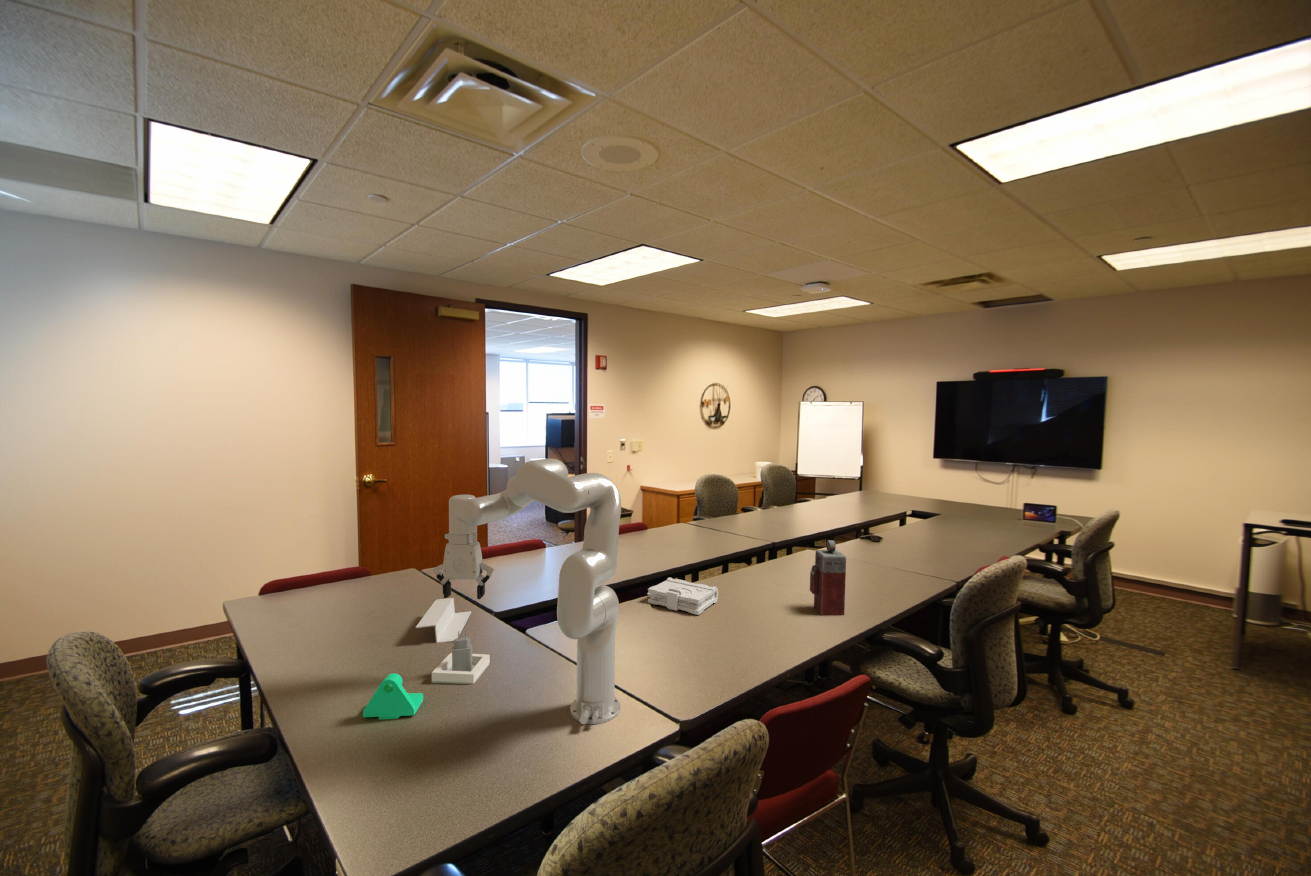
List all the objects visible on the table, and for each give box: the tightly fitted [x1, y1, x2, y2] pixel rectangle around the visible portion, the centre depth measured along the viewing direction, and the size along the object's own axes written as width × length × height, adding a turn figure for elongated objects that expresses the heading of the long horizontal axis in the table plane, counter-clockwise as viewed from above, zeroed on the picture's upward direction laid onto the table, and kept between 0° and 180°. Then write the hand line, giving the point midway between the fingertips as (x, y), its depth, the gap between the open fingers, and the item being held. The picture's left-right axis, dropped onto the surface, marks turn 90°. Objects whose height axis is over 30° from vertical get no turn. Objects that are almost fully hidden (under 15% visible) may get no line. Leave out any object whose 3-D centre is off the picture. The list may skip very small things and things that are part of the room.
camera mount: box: [362, 672, 424, 720], centre depth 135 cm, size 12×8×10 cm, turn 95°
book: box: [646, 577, 719, 616], centre depth 215 cm, size 19×28×8 cm
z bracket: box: [415, 597, 472, 644], centre depth 186 cm, size 12×25×6 cm, turn 8°
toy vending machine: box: [809, 539, 847, 617], centre depth 205 cm, size 9×11×28 cm
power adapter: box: [451, 630, 473, 672], centre depth 154 cm, size 3×5×12 cm, turn 108°
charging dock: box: [431, 652, 491, 685], centre depth 154 cm, size 12×12×3 cm
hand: (463, 597), depth 153 cm, fingers open, 9 cm apart
